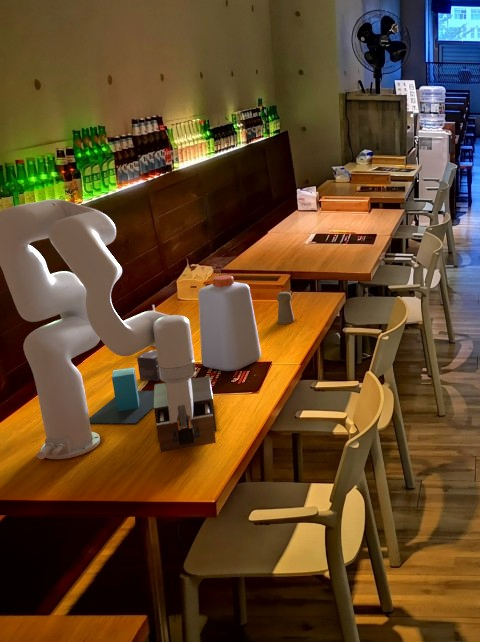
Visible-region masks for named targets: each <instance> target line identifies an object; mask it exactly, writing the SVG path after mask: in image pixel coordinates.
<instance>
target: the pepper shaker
mask: <svg viewBox="0 0 480 642" xmlns="http://www.w3.org/2000/svg"><path fill="white" fill-rule="evenodd" d="M291 300H292V295H291V292H288V291H281V292H279V293H277V294H276V301H277V302H278V303H277V305H278V307H277V323H278V324H281V325H285V324H286V325H287V324H291V323H294V322H295V316H294V313H293V308H292V302H291Z"/></svg>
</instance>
